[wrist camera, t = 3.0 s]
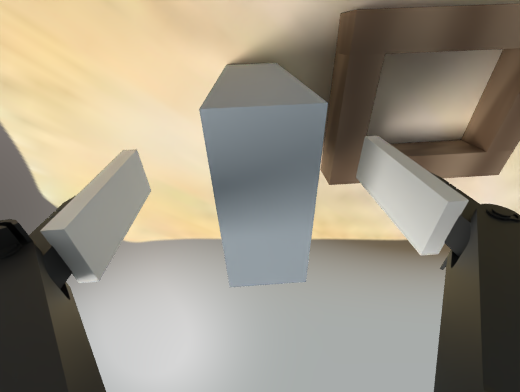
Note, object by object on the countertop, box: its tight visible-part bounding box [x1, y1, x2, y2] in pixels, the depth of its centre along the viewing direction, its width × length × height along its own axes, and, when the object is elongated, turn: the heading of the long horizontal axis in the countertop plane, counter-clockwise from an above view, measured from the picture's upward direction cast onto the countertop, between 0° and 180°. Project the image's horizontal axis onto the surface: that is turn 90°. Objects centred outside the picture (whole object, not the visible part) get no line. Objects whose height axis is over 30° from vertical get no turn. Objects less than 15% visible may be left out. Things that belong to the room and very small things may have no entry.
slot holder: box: [321, 4, 520, 185], centre depth 20 cm, size 16×13×3 cm
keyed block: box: [199, 63, 328, 287], centre depth 16 cm, size 4×9×14 cm, turn 2°
